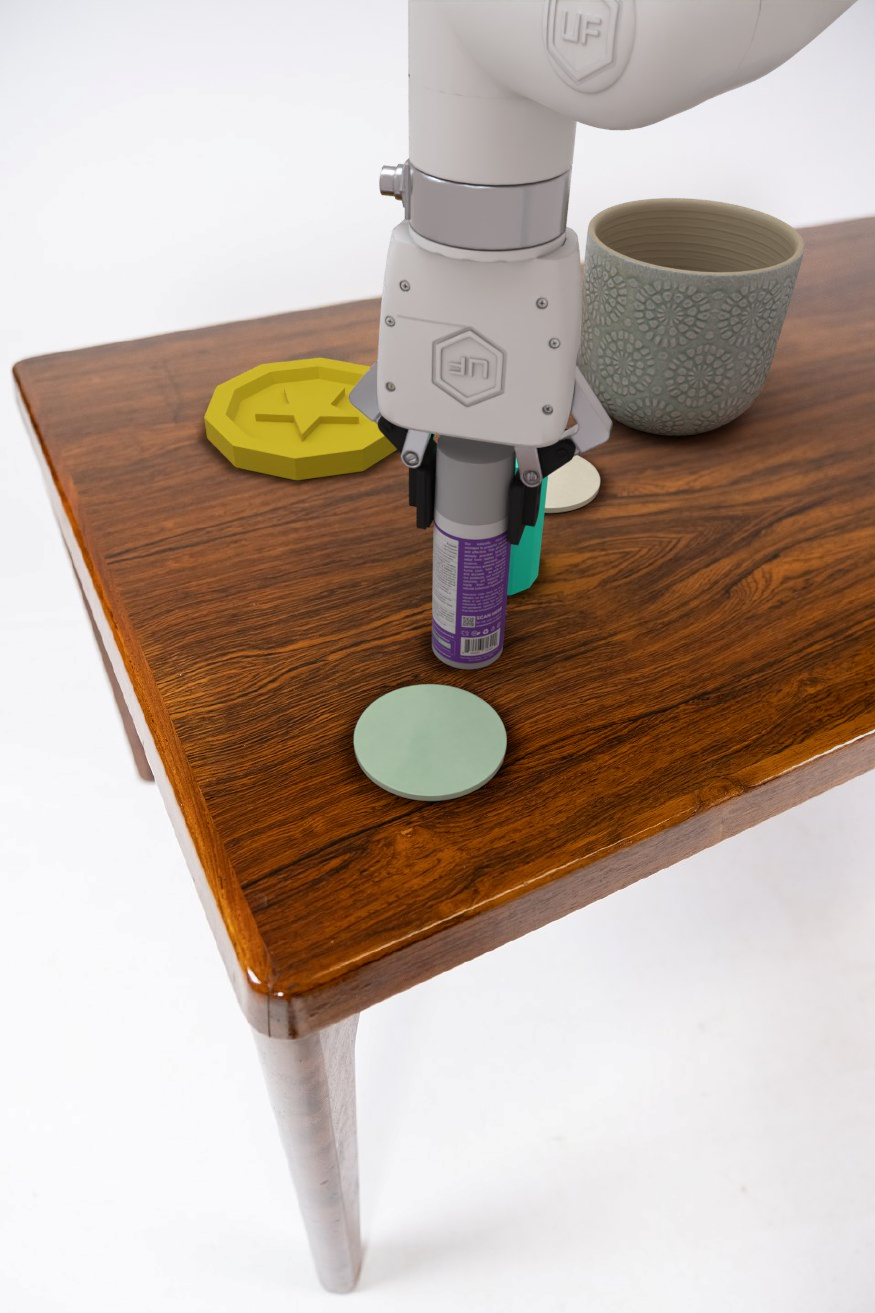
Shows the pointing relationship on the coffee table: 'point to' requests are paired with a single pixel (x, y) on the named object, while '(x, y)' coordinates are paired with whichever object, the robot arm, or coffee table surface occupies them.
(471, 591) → the container
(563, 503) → the far coaster
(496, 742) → the near coaster
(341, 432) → the decorative disc
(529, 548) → the candle
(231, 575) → the coffee table surface
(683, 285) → the planter
